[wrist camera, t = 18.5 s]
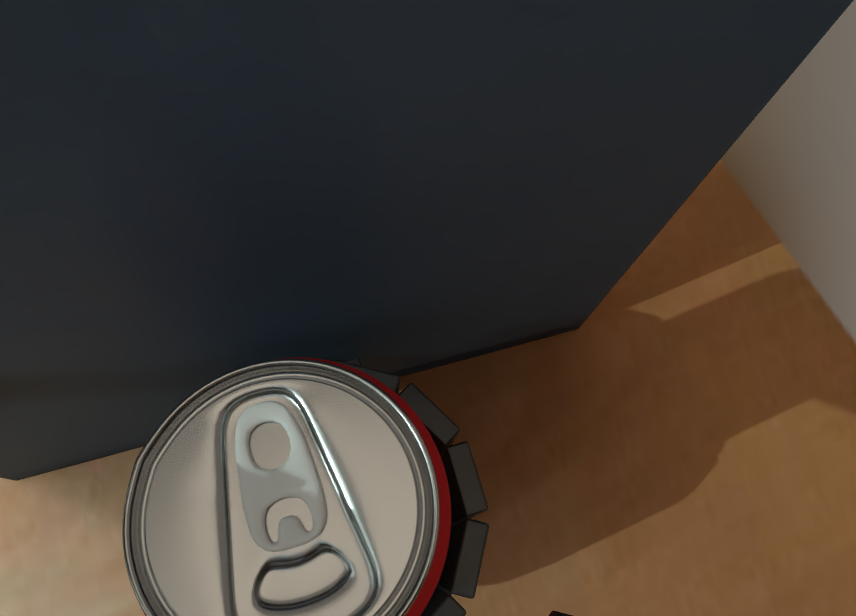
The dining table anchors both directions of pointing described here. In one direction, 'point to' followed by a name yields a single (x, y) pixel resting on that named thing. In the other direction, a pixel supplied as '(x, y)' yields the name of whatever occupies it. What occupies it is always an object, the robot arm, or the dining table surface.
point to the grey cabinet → (340, 192)
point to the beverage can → (288, 499)
